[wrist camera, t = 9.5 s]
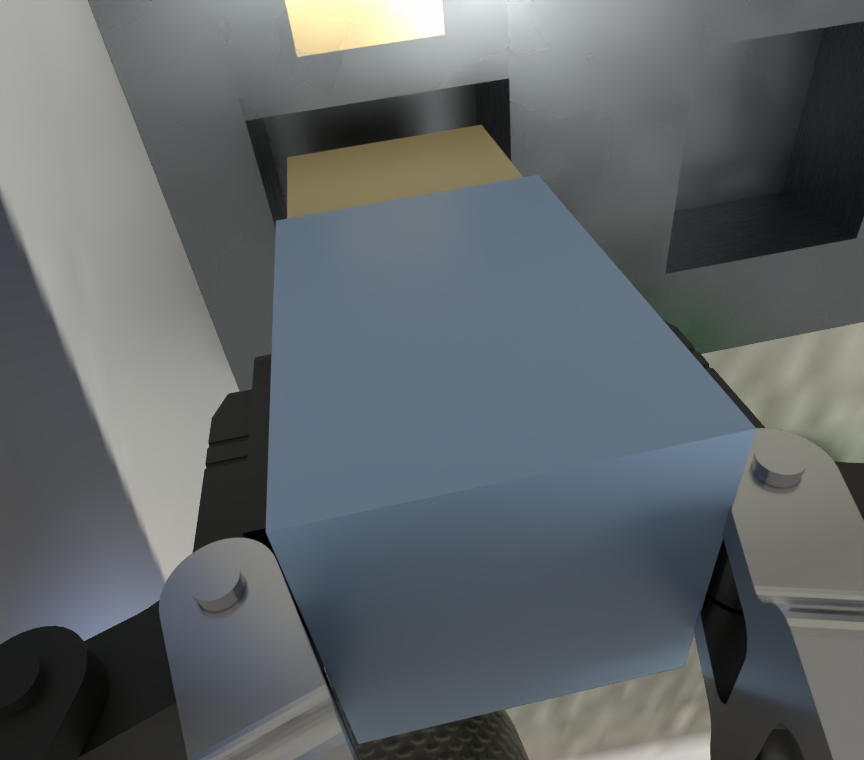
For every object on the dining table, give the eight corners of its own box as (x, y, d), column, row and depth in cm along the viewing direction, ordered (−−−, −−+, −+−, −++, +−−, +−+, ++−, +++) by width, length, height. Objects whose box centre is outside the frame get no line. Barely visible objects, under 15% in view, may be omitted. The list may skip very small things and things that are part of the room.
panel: (938, -174, 16) (1105, -189, 12) (807, 259, 23) (890, 318, 20) (118, -60, 14) (69, -44, 11) (263, 361, 22) (259, 443, 19)
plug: (488, 116, 14) (756, 429, 6) (496, 295, 16) (684, 666, 9) (278, 151, 13) (266, 531, 5) (323, 328, 16) (358, 743, 8)
